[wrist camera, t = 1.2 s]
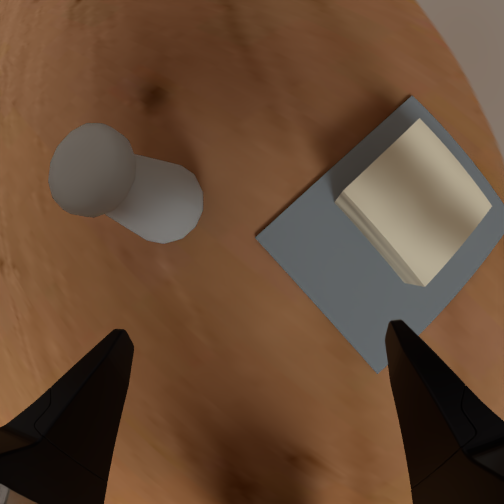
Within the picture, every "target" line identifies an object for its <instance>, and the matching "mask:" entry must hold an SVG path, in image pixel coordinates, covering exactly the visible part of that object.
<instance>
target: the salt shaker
mask: <svg viewBox="0 0 504 504" xmlns="http://www.w3.org/2000/svg"><path fill="white" fill-rule="evenodd" d="M48 183H49V186H50V190H51V194H52V197H53V199H54V200H55V201H56V202H57V204H58V205H59V206H60V207H61V208H62V209H63V210H65V211H66V212H68V213H70V214H74V215H80V216H85V217H93V218H95V217H98V216H100V215H103V214H105V215H107V216H108V217H110V218H112V219H113V220H115V221H116V222H118V223H120V224H121V225H123V226H124V227H126V228H128V229H129V230H131V231H133V232H134V233H136V234H137V235H139V236H141V237H142V238H144V239H146V240H147V241H152V242H157V243H162V244H165V243H169V242H172V241H176V240H179V239H182V238H184V237H185V236H186V235H187V234H188V233H189V232H190V231H191V230H193V229H194V228H195V227H196V225H197V223H198V220H199V218H200V216H201V214H202V211H203V191H202V189H201V187H200V185H199V183H198V181H197V179H196V177H195V175H194V174H193V173H192V172H190V171H189V170H187V169H186V168H184V167H183V166H181V165H178V164H174V163H170V162H166V161H162V160H158V159H154V158H149V157H145V156H141V155H137V154H134V153H133V150H132V148H131V145H130V142H129V140H128V139H127V138H126V137H124V136H123V135H122V134H121V133H119V132H118V131H116V130H115V129H113V128H112V127H110V126H108V125H105V124H102V123H86V124H84V125H82V126H80V127H78V128H76V129H74V130H73V131H71V132H70V133H69V134H68V135H67V136H66V137H65V139H64V140H63V141H62V142H61V143H60V144H59V145H58V146H57V149H56V151H55V153H54V155H53V158H52V160H51V163H50V171H49V180H48Z"/></svg>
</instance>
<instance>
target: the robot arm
mask: <svg viewBox="0 0 504 504" xmlns="http://www.w3.org/2000/svg"><path fill="white" fill-rule="evenodd" d="M385 346H386V353H387V361H388V368H389V376H390V383H391V388H392V392H393V397H394V401H395V405H396V410H397V414H398V419H399V424H400V429H401V434H402V439H403V444H404V449H405V455H406V460H407V466H408V472H409V478H410V485H411V489H412V490H411V492H412V500H413V504H504V421H503V420H502V419H501V418H499V417H498V416H497V415H496V414H495V413H494V412H493V411H491V410H490V409H489V408H488V407H487V406H486V405H485V404H484V403H483V402H482V401H481V400H480V399H479V398H478V397H477V396H476V395H475V394H474V393H473V392H472V391H471V390H470V389H469V388H468V387H467V386H466V385H465V384H464V382H463V381H462V380H461V379H460V378H459V377H458V376H457V375H456V374H455V373H454V372H453V371H452V370H451V369H450V368H449V367H448V366H447V365H446V364H445V362H444V361H443V360H442V359H441V358H440V357H439V356H438V355H437V354H436V353H435V352H434V351H433V350H432V349H431V348H430V347H429V346H428V345H427V344H426V343H425V342H424V341H423V340H422V339H421V338H420V337H419V336H418V335H417V334H416V333H415V332H414V331H413V330H412V329H411V328H410V327H409V326H408V325H407V324H406V323H405V322H404V321H403V320H401V319H397V320H391V321H390V322H389V324H388V328H387V332H386V335H385ZM133 353H134V345H133V343H132V341H131V339H130V337H129V335H128V333H127V332H126V330H124V329H114V330H113V331H112V332H111V333H109V334H108V335H107V336H106V337H105V338H104V339H103V340H102V341H100V342H99V343H98V344H97V345H96V346H95V347H94V348H93V349H92V350H91V351H89V352H88V353H87V354H86V355H85V356H84V357H83V358H82V359H81V360H80V361H78V362H77V363H76V364H75V365H74V366H73V367H72V368H71V369H70V370H69V371H68V372H67V373H65V374H64V375H63V376H62V377H61V378H60V379H59V380H58V381H57V382H56V383H55V384H54V385H53V386H52V387H51V388H49V389H48V390H47V391H46V392H45V393H44V394H43V395H42V396H41V397H39V398H38V399H37V400H36V401H35V402H34V403H33V404H31V405H30V406H29V407H28V408H27V409H25V410H24V411H23V412H21V413H20V414H19V415H18V416H16V417H15V418H14V419H13V420H11V421H10V422H9V423H7V424H6V425H4V426H2V427H0V504H104V500H105V494H106V488H107V481H108V476H109V471H110V466H111V461H112V456H113V451H114V446H115V441H116V437H117V432H118V428H119V423H120V419H121V415H122V411H123V406H124V402H125V398H126V394H127V390H128V386H129V380H130V373H131V366H132V359H133Z"/></svg>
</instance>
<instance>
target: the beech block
mask: <svg viewBox="0 0 504 504" xmlns="http://www.w3.org/2000/svg"><path fill="white" fill-rule="evenodd" d="M334 203H335V204H336V205H337V206H338V207H339V208H340V209H341V210H342V211H343V212H344V213H345V215H346V216H347V217H348V218H349V219H350V220H351V221H352V222H353V223H354V225H355V226H356V227H357V228H358V229H359V230H360V231H361V232H362V234H363V235H364V236H365V237H366V238H367V239H368V240H369V242H370V243H371V244H372V245H373V246H374V247H375V248H376V250H377V251H378V252H379V253H380V254H381V255H382V257H383V258H384V259H385V260H386V261H387V263H388V264H389V265H390V266H391V267H392V269H393V270H394V271H395V272H396V273H397V275H398V276H399V277H400V278H401V280H402V281H403V282H404V283H407V284H412V285H417V286H422V287H426V285H427V284H428V283H429V282H430V281H431V280H432V279H433V278H434V277H435V276H436V275H437V273H438V272H439V271H440V270H441V269H442V268H443V267H444V266H445V264H446V263H447V262H448V261H449V260H450V259H451V257H452V256H453V255H454V254H455V253H456V252H457V250H458V249H459V248H460V247H461V246H462V244H463V243H464V242H465V241H466V239H467V238H468V237H469V236H470V234H471V233H472V232H473V231H474V229H475V228H476V227H477V226H478V224H479V223H480V222H481V220H482V219H483V218H484V216H485V215H486V214H487V212H488V211H489V210H490V208H491V207H492V205H491V203H490V202H489V201H488V199H487V198H486V196H485V195H484V194H483V192H482V191H481V190H480V188H479V187H478V186H477V184H476V183H475V182H474V180H473V179H472V178H471V176H470V175H469V174H468V173H467V171H466V170H465V169H464V168H463V166H462V165H461V164H460V163H459V161H458V160H457V159H456V158H455V157H454V155H453V154H452V153H451V152H450V151H449V150H448V148H447V147H446V146H445V145H444V144H443V143H442V142H441V140H440V139H439V138H438V137H437V136H436V135H435V134H434V133H433V132H432V131H431V129H430V128H429V127H428V126H427V125H426V124H425V123H424V122H423V121H422V120H421V119H420V118H419V119H418V120H417V121H416V122H415V123H414V124H413V125H412V126H411V127H410V128H409V129H408V130H407V131H406V132H404V133H403V134H402V135H401V136H400V137H399V138H398V139H397V140H396V141H395V142H394V143H393V144H392V145H391V146H390V147H389V148H388V149H387V150H386V151H385V152H383V153H382V154H381V155H380V156H379V157H378V158H377V159H376V160H375V161H374V162H373V163H372V164H371V165H370V166H369V167H368V168H367V169H366V170H364V171H363V172H362V173H361V174H360V175H359V176H358V177H357V178H356V179H355V180H354V181H353V182H352V183H351V184H350V185H348V186H347V187H346V188H345V189H344V190H343V191H342V193H341V194H340V195H339V197H338V198H337V199H336V201H335V202H334Z"/></svg>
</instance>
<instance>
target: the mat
mask: <svg viewBox="0 0 504 504" xmlns="http://www.w3.org/2000/svg"><path fill="white" fill-rule="evenodd" d="M419 118H420V119H421V120H422V121H423V122H424V123H425V124H426V125H427V126H428V127H429V128H430V129H431V131H432V132H433V133H434V134H435V135H436V136H437V137H438V138H439V139H440V140H441V142H442V143H443V144H444V145H445V146H446V147H447V148H448V150H449V151H450V152H451V153H452V154H453V155H454V157H455V158H456V159H457V160H458V161H459V163H460V164H461V165H462V166H463V168H464V169H465V170H466V171H467V173H468V174H469V175H470V176H471V178H472V179H473V180H474V182H475V183H476V184H477V186H478V187H479V188H480V190H481V191H482V192H483V194H484V195H485V196H486V198H487V199H488V201H489V202H490V203H491V205H492V207H491V208H490V210H489V211H488V212H487V214H486V215H485V216H484V218H483V219H482V220H481V222H480V223H479V224H478V226H477V227H476V228H475V229H474V231H473V232H472V233H471V234H470V236H469V237H468V238H467V239H466V241H465V242H464V243H463V244H462V246H461V247H460V248H459V249H458V250H457V252H456V253H455V254H454V255H453V256H452V257H451V259H450V260H449V261H448V262H447V263H446V264H445V266H444V267H443V268H442V269H441V270H440V271H439V272H438V273H437V275H436V276H435V277H434V278H433V279H432V280H431V281H430V282H429V283H428V284H427V285H426V287H422V286H417V285H412V284H407V283H404V282H403V281H402V280H401V278H400V277H399V276H398V275H397V273H396V272H395V271H394V270H393V269H392V267H391V266H390V265H389V264H388V263H387V261H386V260H385V259H384V258H383V257H382V255H381V254H380V253H379V252H378V251H377V250H376V248H375V247H374V246H373V245H372V244H371V243H370V242H369V240H368V239H367V238H366V237H365V236H364V235H363V234H362V232H361V231H360V230H359V229H358V228H357V227H356V226H355V225H354V223H353V222H352V221H351V220H350V219H349V218H348V217H347V216H346V215H345V213H344V212H343V211H342V210H341V209H340V208H339V207H338V206H337V205H336V204H335V203H334V202H335V201H336V199H337V198H338V197H339V195H340V194H341V193H342V191H343V190H344V189H345V188H346V187H347V186H348V185H350V184H351V183H352V182H353V181H354V180H355V179H356V178H357V177H358V176H359V175H360V174H361V173H362V172H363V171H364V170H366V169H367V168H368V167H369V166H370V165H371V164H372V163H373V162H374V161H375V160H376V159H377V158H378V157H379V156H380V155H381V154H382V153H383V152H385V151H386V150H387V149H388V148H389V147H390V146H391V145H392V144H393V143H394V142H395V141H396V140H397V139H398V138H399V137H400V136H401V135H402V134H403V133H404V132H406V131H407V130H408V129H409V128H410V127H411V126H412V125H413V124H414V123H415V122H416V121H417V120H418V119H419ZM503 234H504V204H503V203H502V201H501V200H500V198H499V197H498V195H497V194H496V192H495V191H494V190H493V188H492V187H491V185H490V184H489V183H488V181H487V180H486V179H485V177H484V176H483V175H482V173H481V172H480V171H479V169H478V168H477V167H476V165H475V164H474V163H473V162H472V160H471V159H470V158H469V157H468V155H467V154H466V153H465V152H464V151H463V149H462V148H461V147H460V146H459V145H458V144H457V142H456V141H455V140H454V139H453V138H452V137H451V135H450V134H449V133H448V132H447V131H446V130H445V129H444V128H443V127H442V125H441V124H440V123H439V122H438V121H437V120H436V119H435V118H434V117H433V116H432V115H431V114H430V113H429V112H428V111H427V110H426V109H425V108H424V107H423V106H422V105H421V104H420V103H419V102H418V101H417V100H416V99H415V98H414V97H413V96H411V97H410V98H409V99H408V100H406V101H405V102H404V103H403V104H402V105H401V106H400V107H399V108H397V109H396V110H395V111H394V112H393V113H392V114H391V115H390V116H389V117H387V118H386V119H385V120H384V121H383V122H382V123H381V124H380V125H379V126H377V127H376V128H375V129H374V130H373V131H372V132H371V133H370V134H369V135H367V136H366V137H365V138H364V139H363V140H362V141H361V142H360V143H359V144H357V145H356V146H355V147H354V148H353V149H352V150H351V151H350V152H349V153H348V154H346V155H345V156H344V157H343V158H342V159H341V160H340V161H339V162H338V163H336V164H335V165H334V166H333V167H332V168H331V169H330V170H329V171H328V172H327V173H325V174H324V175H323V176H322V177H321V178H320V179H319V180H318V181H317V182H316V183H314V184H313V185H312V186H311V187H310V188H309V189H308V190H307V191H306V192H305V193H303V194H302V195H301V196H300V197H299V198H298V199H297V200H296V201H295V202H294V203H293V204H291V205H290V206H289V207H288V208H287V209H286V210H285V211H284V212H283V213H282V214H280V215H279V216H278V217H277V218H276V219H275V220H274V221H273V222H272V223H271V224H270V225H268V226H267V227H266V228H265V229H264V230H263V231H262V232H261V233H260V234H259V235H258V236H256V237H255V238H256V239H257V240H258V241H259V243H260V244H261V245H262V246H263V247H264V248H265V249H266V250H267V251H268V252H269V254H270V255H271V256H272V257H273V258H274V259H275V260H276V261H277V262H278V263H279V265H280V266H281V267H282V268H283V269H284V270H285V271H286V272H287V273H288V274H289V276H290V277H291V278H292V279H293V280H294V281H295V282H296V283H297V284H298V286H299V287H300V288H301V289H302V290H303V291H304V292H305V293H306V294H307V296H308V297H309V298H310V299H311V300H312V301H313V302H314V303H315V304H316V306H317V307H318V308H319V309H320V310H321V311H322V312H323V313H324V314H325V316H326V317H327V318H328V319H329V320H330V321H331V322H332V323H333V325H334V326H335V327H336V328H337V329H338V330H339V331H340V332H341V333H342V335H343V336H344V337H345V338H346V339H347V340H348V341H349V342H350V344H351V345H352V346H353V347H354V348H355V349H356V350H357V351H358V353H359V354H360V355H361V356H362V357H363V358H364V359H365V360H366V362H367V363H368V364H369V365H370V366H371V367H372V368H373V369H374V371H375V372H376V373H377V374H378V373H379V372H380V371H381V370H382V369H384V368H385V367H386V366H387V365H388V361H387V353H386V346H385V335H386V332H387V328H388V324H389V322H390V321H391V320H397V319H401V320H403V321H404V322H405V323H406V324H407V325H408V326H409V327H410V328H411V329H412V330H413V331H414V332H415V333H416V334H417V335H419V334H420V333H421V332H422V331H423V330H424V329H425V328H426V327H427V326H428V325H429V324H430V323H431V322H432V321H433V320H434V319H435V318H436V317H437V316H438V314H439V313H440V312H441V311H442V310H443V309H444V308H445V307H446V306H447V305H448V303H449V302H450V301H451V300H452V299H453V298H454V297H455V295H456V294H457V293H458V292H459V291H460V290H461V289H462V287H463V286H464V285H465V284H466V283H467V281H468V280H469V279H470V278H471V276H472V275H473V274H474V273H475V272H476V270H477V269H478V268H479V266H480V265H481V264H482V263H483V261H484V260H485V259H486V257H487V256H488V255H489V253H490V252H491V251H492V249H493V248H494V247H495V245H496V244H497V243H498V241H499V240H500V238H501V237H502V236H503Z"/></svg>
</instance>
